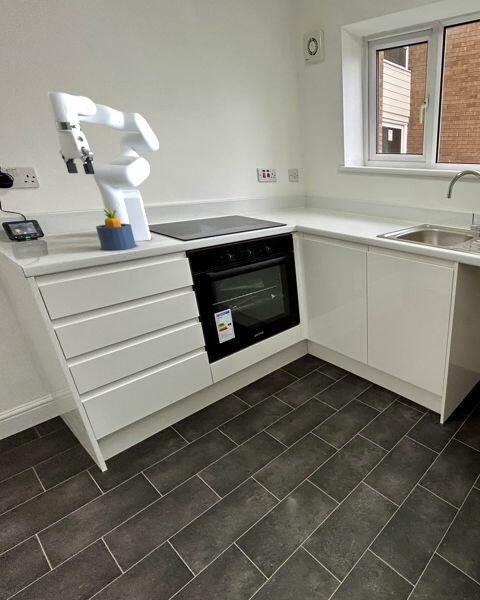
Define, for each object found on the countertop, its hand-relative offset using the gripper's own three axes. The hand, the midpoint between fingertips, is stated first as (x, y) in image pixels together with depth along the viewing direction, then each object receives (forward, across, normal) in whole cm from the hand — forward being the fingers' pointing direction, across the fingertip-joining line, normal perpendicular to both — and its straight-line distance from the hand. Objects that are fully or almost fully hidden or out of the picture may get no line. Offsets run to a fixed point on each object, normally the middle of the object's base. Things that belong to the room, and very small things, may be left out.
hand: (81, 173), depth 145 cm
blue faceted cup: (+28, -18, +5) cm, 34 cm away
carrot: (+28, -18, +5) cm, 33 cm away
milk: (+28, -12, -10) cm, 32 cm away
